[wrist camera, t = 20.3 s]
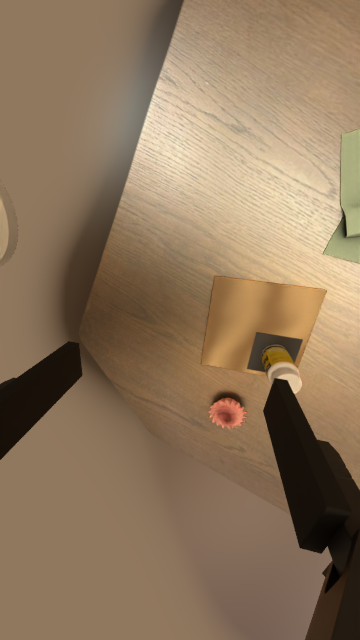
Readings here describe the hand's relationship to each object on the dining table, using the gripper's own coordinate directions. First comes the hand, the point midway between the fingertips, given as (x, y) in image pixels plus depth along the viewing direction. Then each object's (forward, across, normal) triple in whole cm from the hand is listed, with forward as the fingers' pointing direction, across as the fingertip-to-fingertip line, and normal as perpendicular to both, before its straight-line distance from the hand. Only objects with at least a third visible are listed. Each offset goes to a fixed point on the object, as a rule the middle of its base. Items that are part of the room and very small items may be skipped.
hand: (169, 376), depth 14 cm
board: (+25, +11, -6) cm, 29 cm away
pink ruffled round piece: (+26, +9, -24) cm, 36 cm away
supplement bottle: (+24, +15, -10) cm, 31 cm away
